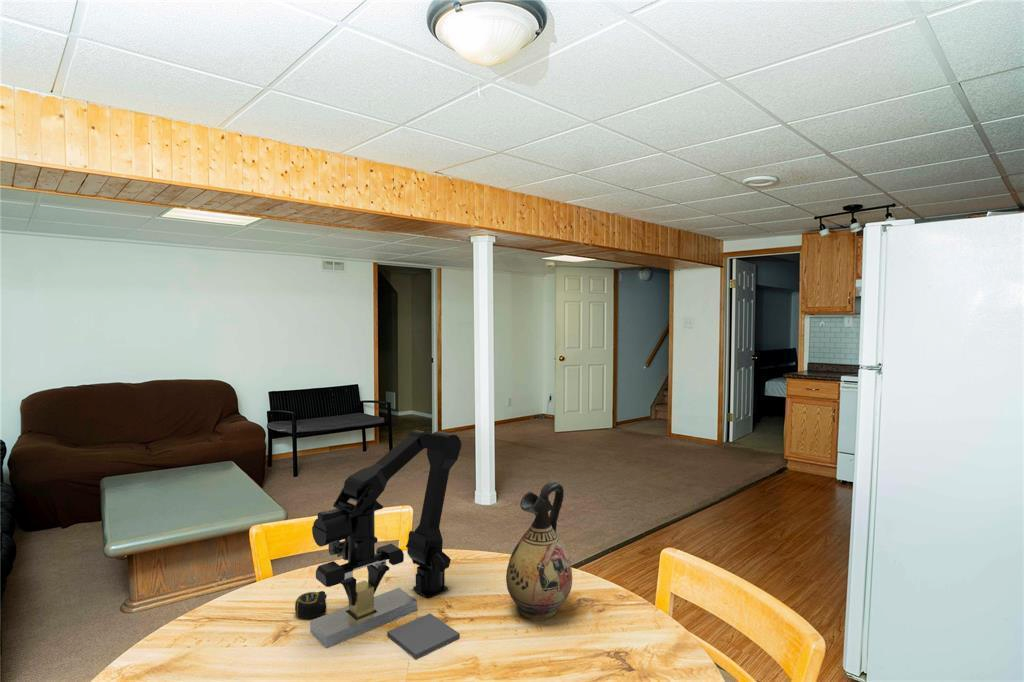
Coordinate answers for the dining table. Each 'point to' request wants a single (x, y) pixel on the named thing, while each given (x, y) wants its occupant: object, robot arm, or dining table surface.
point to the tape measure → (311, 604)
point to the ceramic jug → (540, 559)
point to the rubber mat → (423, 635)
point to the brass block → (362, 601)
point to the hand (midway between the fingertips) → (361, 601)
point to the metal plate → (345, 626)
